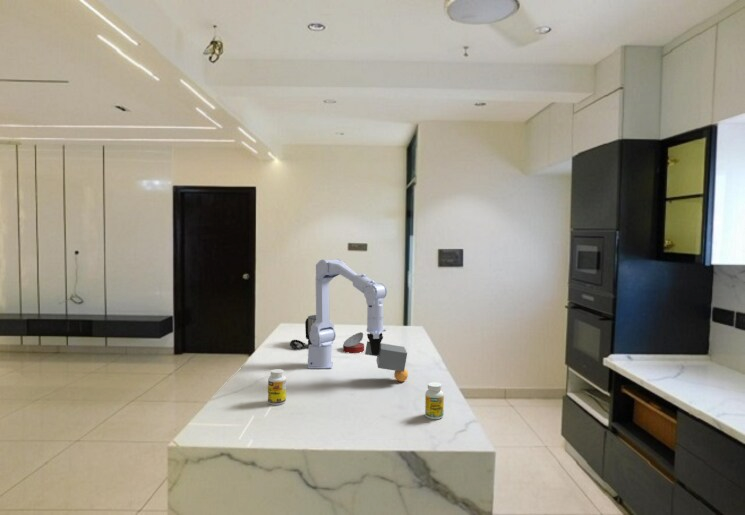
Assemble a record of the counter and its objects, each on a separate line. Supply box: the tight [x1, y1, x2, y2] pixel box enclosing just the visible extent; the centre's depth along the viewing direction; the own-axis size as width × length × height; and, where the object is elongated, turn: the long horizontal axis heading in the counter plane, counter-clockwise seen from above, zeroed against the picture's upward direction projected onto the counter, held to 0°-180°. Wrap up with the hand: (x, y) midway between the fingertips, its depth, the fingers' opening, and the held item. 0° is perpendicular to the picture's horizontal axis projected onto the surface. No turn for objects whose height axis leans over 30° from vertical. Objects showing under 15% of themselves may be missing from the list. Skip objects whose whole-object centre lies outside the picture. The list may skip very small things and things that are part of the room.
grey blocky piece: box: [364, 340, 408, 372], centre depth 163 cm, size 14×9×8 cm, turn 93°
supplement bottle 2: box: [424, 381, 445, 420], centre depth 132 cm, size 5×5×10 cm
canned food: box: [342, 331, 365, 354], centre depth 207 cm, size 11×10×10 cm
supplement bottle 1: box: [267, 368, 287, 406], centre depth 141 cm, size 6×6×10 cm
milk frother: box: [289, 314, 316, 350], centre depth 211 cm, size 14×16×15 cm
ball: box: [393, 368, 409, 382], centre depth 164 cm, size 5×5×5 cm
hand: (374, 354), depth 163 cm, fingers closed on grey blocky piece
